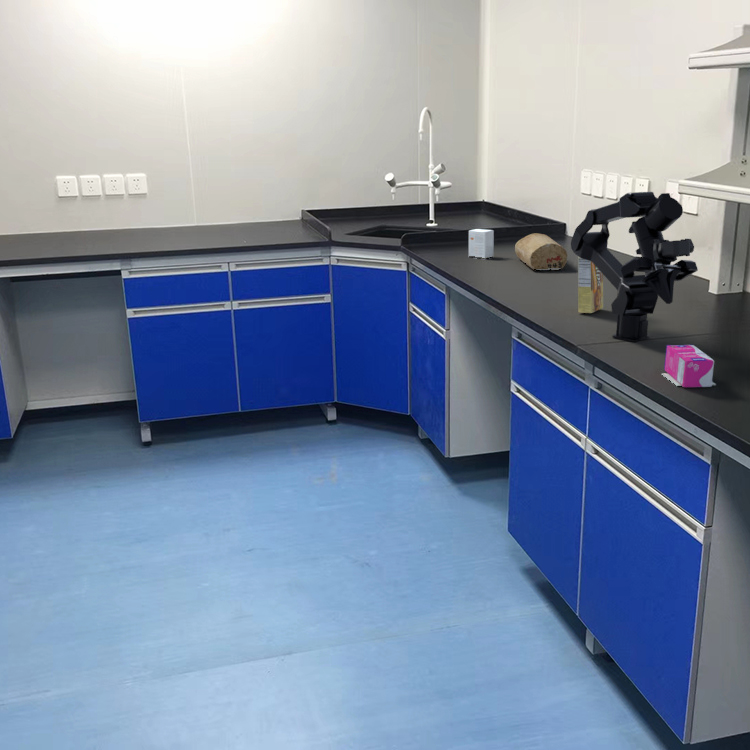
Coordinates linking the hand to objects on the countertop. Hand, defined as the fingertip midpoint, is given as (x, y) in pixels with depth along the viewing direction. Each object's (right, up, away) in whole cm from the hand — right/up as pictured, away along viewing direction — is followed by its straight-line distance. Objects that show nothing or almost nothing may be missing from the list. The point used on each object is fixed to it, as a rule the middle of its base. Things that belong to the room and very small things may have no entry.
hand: (669, 303), depth 186 cm
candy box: (-6, +1, +43) cm, 44 cm away
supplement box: (-2, -12, -11) cm, 16 cm away
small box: (-26, +29, +131) cm, 137 cm away
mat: (-2, -17, -15) cm, 23 cm away
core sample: (-6, +23, +114) cm, 117 cm away
